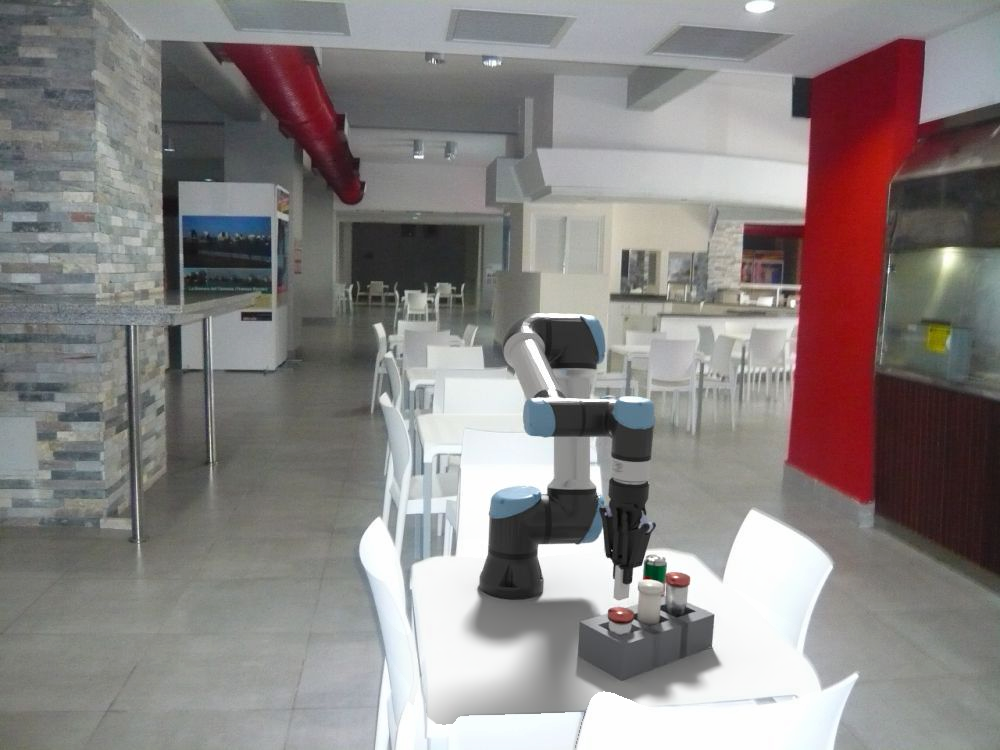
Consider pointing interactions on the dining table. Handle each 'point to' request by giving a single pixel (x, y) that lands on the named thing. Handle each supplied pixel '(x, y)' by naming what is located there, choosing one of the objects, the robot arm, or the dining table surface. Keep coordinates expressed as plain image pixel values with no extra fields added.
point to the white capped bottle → (649, 602)
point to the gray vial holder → (645, 641)
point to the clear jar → (676, 593)
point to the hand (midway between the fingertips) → (621, 597)
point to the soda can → (655, 569)
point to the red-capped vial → (620, 620)
